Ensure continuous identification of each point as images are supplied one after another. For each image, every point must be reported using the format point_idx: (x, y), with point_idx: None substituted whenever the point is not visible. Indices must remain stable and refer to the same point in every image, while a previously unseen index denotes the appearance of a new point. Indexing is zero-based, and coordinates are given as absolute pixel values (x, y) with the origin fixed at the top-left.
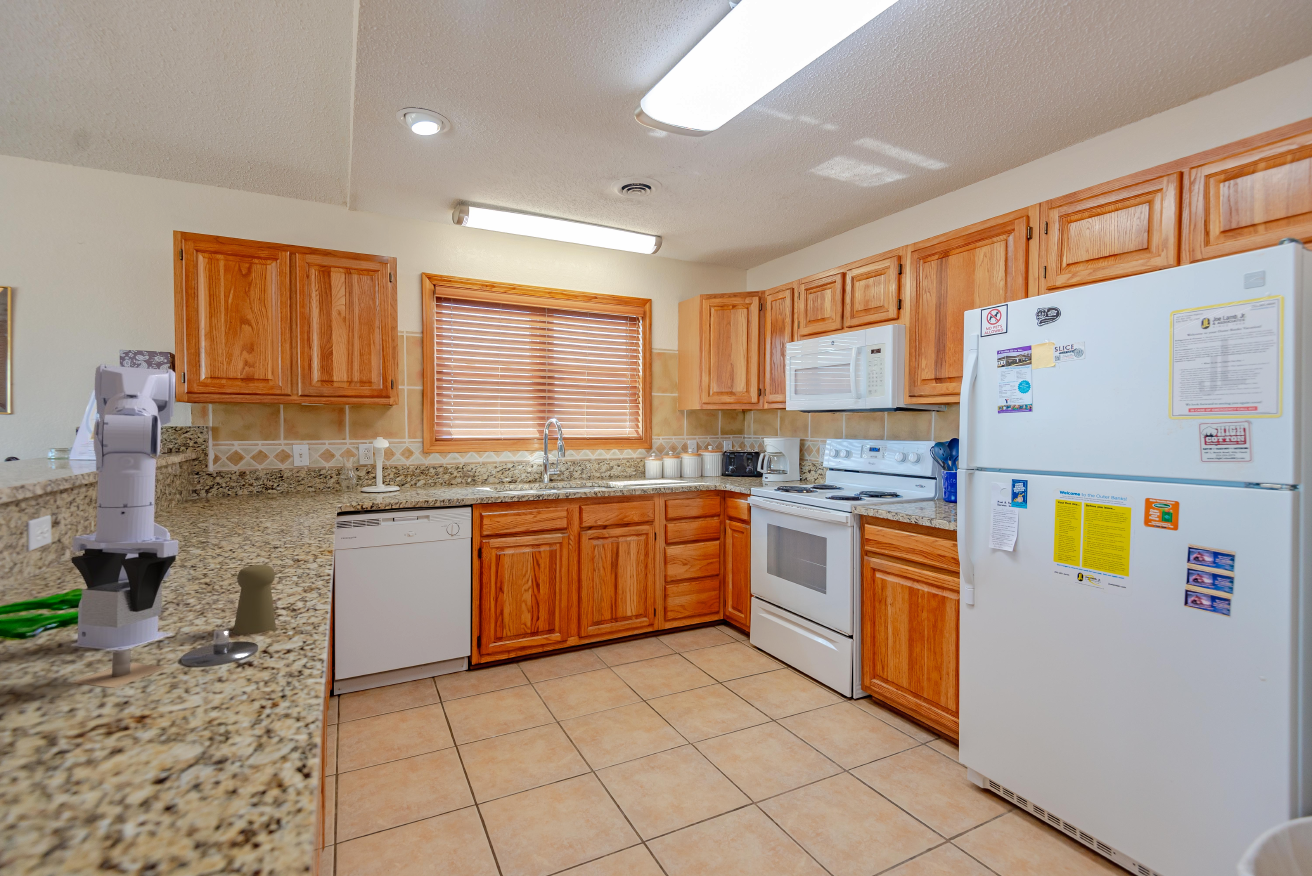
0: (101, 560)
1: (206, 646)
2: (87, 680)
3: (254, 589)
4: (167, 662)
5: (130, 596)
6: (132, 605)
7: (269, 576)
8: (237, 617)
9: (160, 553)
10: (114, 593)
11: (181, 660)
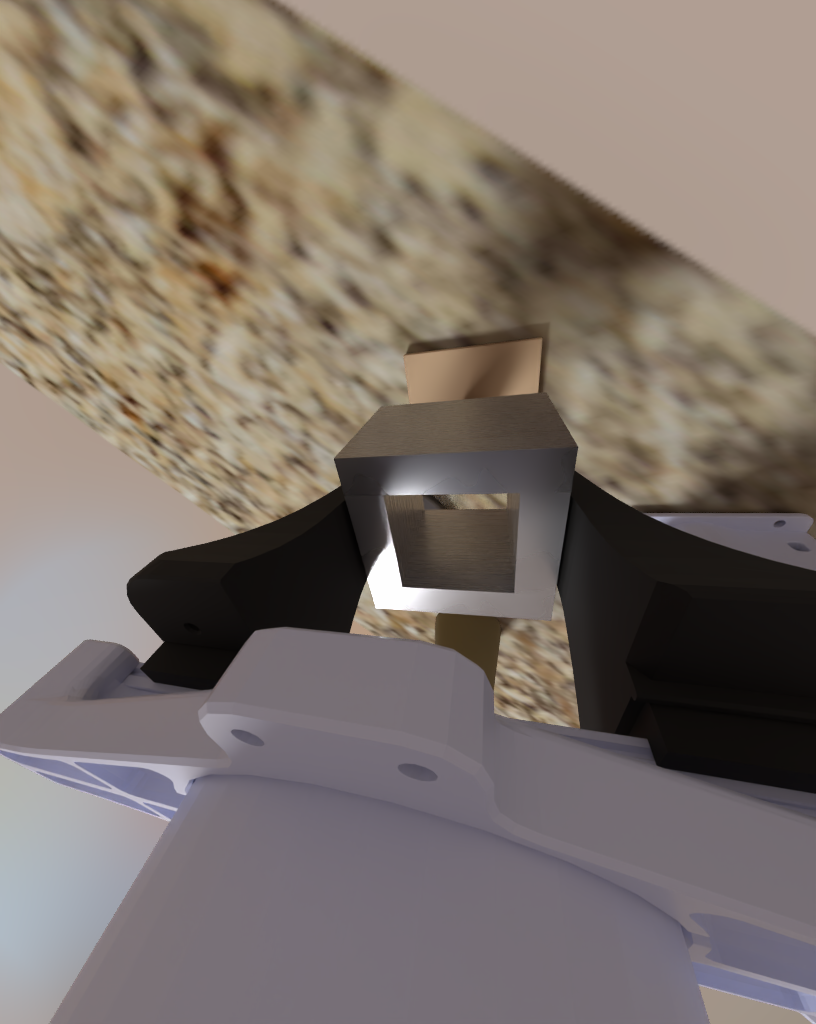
0: (612, 656)
1: None
2: (507, 362)
3: None
4: (473, 500)
5: None
6: None
7: None
8: (476, 641)
9: (71, 661)
10: (353, 453)
11: (425, 498)
